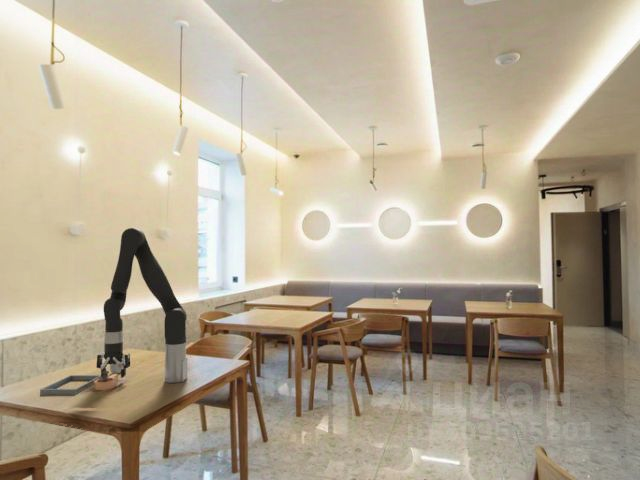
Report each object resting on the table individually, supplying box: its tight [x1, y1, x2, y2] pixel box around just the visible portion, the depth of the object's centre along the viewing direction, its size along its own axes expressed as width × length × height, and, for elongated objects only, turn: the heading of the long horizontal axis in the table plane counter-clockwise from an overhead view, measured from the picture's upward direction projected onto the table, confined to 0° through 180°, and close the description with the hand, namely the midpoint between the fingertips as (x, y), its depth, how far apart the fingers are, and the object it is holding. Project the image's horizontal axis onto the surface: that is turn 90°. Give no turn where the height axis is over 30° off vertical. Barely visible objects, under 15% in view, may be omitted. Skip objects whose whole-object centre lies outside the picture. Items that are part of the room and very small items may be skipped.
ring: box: [92, 373, 119, 390], centre depth 180 cm, size 8×13×3 cm, turn 179°
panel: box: [83, 370, 130, 393], centre depth 180 cm, size 12×16×8 cm
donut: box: [109, 357, 125, 375], centre depth 200 cm, size 10×4×10 cm, turn 177°
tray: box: [39, 374, 102, 398], centre depth 178 cm, size 15×20×3 cm
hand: (113, 377), depth 184 cm, fingers open, 8 cm apart
